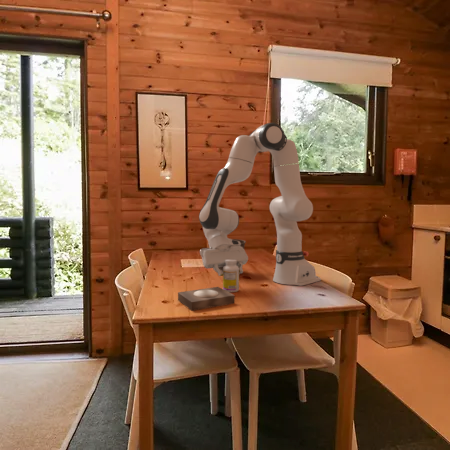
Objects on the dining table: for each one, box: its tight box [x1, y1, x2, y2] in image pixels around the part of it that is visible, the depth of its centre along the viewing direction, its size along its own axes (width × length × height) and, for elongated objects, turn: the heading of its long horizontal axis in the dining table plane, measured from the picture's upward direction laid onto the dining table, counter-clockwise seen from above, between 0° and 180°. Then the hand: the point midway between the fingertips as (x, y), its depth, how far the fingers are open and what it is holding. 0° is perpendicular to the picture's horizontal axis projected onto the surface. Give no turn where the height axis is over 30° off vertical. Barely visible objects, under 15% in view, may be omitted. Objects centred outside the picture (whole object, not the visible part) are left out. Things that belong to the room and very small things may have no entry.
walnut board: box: [177, 286, 236, 311], centre depth 128 cm, size 17×13×3 cm
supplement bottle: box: [222, 259, 240, 293], centre depth 142 cm, size 7×7×13 cm
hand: (231, 273), depth 142 cm, fingers open, 8 cm apart
